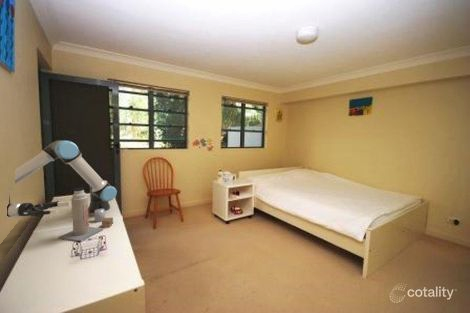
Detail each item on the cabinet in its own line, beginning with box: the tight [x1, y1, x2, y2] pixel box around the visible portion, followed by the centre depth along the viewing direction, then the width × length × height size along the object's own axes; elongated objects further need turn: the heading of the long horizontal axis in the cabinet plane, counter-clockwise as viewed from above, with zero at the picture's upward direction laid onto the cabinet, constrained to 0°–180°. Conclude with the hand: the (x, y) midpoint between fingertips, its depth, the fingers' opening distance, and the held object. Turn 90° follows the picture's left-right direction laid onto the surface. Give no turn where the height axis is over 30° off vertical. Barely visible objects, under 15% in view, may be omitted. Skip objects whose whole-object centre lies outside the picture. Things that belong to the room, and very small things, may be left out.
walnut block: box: [101, 217, 114, 229], centre depth 146 cm, size 5×5×5 cm
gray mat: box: [58, 226, 104, 242], centre depth 134 cm, size 16×16×1 cm
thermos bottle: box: [70, 187, 90, 236], centre depth 132 cm, size 8×8×28 cm
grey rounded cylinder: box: [94, 209, 106, 223], centre depth 154 cm, size 6×6×8 cm
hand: (63, 207), depth 130 cm, fingers open, 13 cm apart
